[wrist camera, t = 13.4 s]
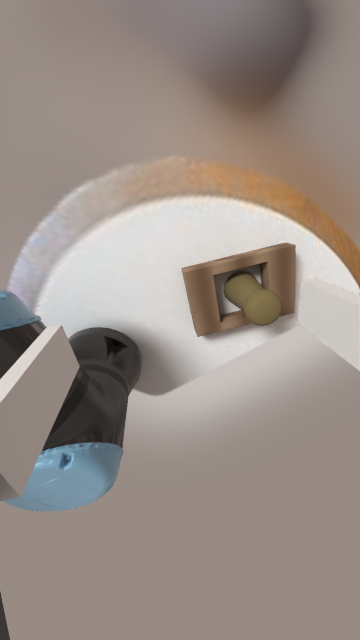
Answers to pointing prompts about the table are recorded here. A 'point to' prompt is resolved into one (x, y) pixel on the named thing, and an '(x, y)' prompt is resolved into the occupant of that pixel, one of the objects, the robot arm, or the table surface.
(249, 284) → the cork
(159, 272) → the table surface
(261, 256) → the brown picture frame
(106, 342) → the robot arm
